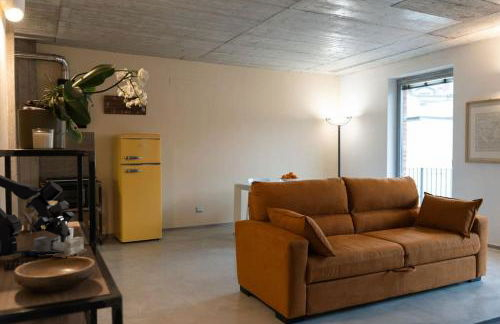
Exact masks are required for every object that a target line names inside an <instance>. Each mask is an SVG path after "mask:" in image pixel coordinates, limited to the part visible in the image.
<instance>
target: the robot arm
mask: <svg viewBox="0 0 500 324" xmlns="http://www.w3.org/2000/svg"><path fill="white" fill-rule="evenodd" d="M0 187H1V188H2V189H5V190H7V191H10V192H11V193H12V194H13V195H14V196H16V197H17V198H20V199H21V200H24V201H25V200H30V201H27V202H26V206H25V208H26V209H34V210H35V212H36V213H37V218H38V219H36V221H35V222H34V223H33V224H32V229H33V231H35V232H36V233H37V232H40V231H42V226H43V225H45V227H46V228H45V230H43V231H44V232H48V233H51V234H54V235H56V236H57V237H58V236H61V237H65V234H64V233H63V231H62V230H61V228H60V221H67V224H68V225H69V222H71V220H72V219H73V218H74V217H75V214H74V213H73V211H66V210H68V209H69V207H70V203H68V201H66V200H62V201H60V202H58V203H57V204H55V205H50V204H49V203H48V201H55V199H56V198H57V197H58V196H59V195H60V194H61V193H63V188H62V187H61V186H60V185H59V184H57V183H55V182H54V181H53V180H47V182H46V184H44V186H43V187H37V186H36V185H33V184H30V183H24V182H19V181H16V180H14V179H10V178H8V177H6V176H3V175H2V174H0ZM64 211H66V212H64ZM22 230H23V223H22V220H21V219H19V218H18V216H17V215H16V214H11V215H10V214H7V213H6V212H5V211H4V210H3V209H2V208H1V207H0V255H1V256H9V255H14V254H16V253H20V250H18V242H17V237H19V235H20V232H21V231H22ZM69 235H70V231H69V228H68V236H69Z"/></svg>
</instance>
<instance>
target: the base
mask: <svg viewBox="0 0 500 324" xmlns="http://www.w3.org/2000/svg"><path fill="white" fill-rule="evenodd" d="M53 240H59V237H58V236H57V237H56V236H52V237H51V236H40V237H36V238H34V239H33V249H32V250H30V251H62V252H61V253H55V254H46V255H53V256H70V255H74V254H78V253H81V254H83V253H86V252H88V249H87V248H85V247H84V246H85V244H84V241H85V240H84V236H75V237H73V238H72V239H68V240H65V241H64V250H61V249H51V241H53ZM78 255H79V254H78Z"/></svg>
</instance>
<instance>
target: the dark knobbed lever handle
mask: <svg viewBox="0 0 500 324" xmlns="http://www.w3.org/2000/svg"><path fill="white" fill-rule="evenodd" d="M68 225H69V223H68V224H67V221H60V228H61V230H62V231H63V233H64V234H65V237H61V236H60V240H53V241H51V249H61V250H64V241H65V240H68V227H69V226H68Z"/></svg>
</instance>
